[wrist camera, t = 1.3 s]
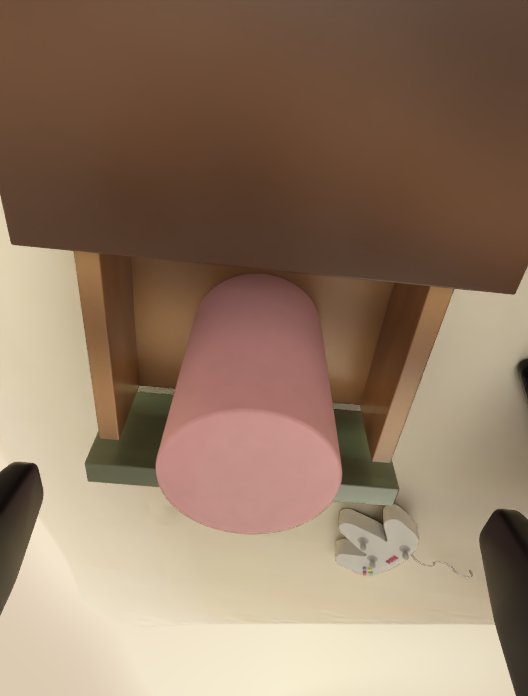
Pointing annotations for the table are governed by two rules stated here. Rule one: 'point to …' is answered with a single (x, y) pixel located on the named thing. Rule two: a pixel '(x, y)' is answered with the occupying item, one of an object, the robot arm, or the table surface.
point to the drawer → (172, 338)
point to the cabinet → (272, 134)
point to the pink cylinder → (252, 412)
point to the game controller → (377, 541)
